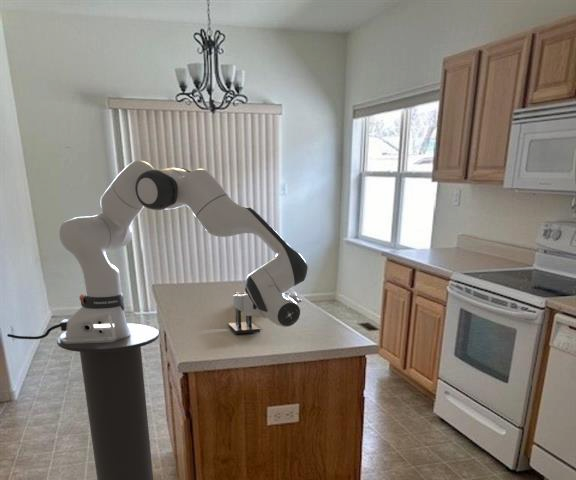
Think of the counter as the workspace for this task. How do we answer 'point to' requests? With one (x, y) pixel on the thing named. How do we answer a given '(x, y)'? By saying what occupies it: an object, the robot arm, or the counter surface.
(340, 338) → the counter surface
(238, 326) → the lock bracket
